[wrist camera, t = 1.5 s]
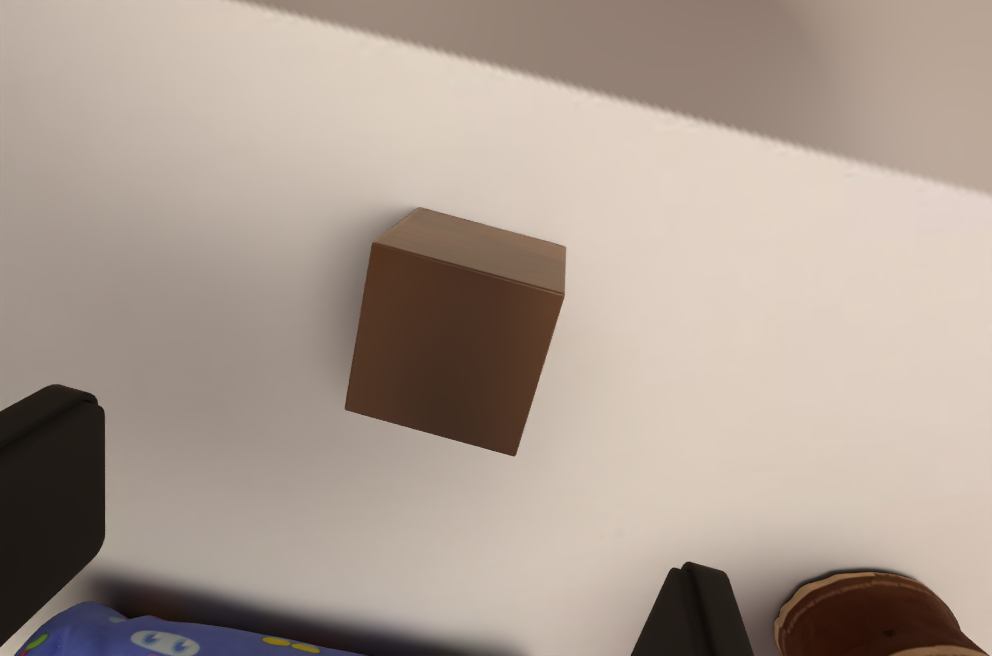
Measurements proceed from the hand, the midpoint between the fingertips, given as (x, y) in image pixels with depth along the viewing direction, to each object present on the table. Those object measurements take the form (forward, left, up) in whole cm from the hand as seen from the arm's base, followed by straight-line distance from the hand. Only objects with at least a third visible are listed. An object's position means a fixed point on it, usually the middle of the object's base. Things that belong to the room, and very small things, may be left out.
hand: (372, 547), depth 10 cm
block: (0, 0, -12) cm, 12 cm away
